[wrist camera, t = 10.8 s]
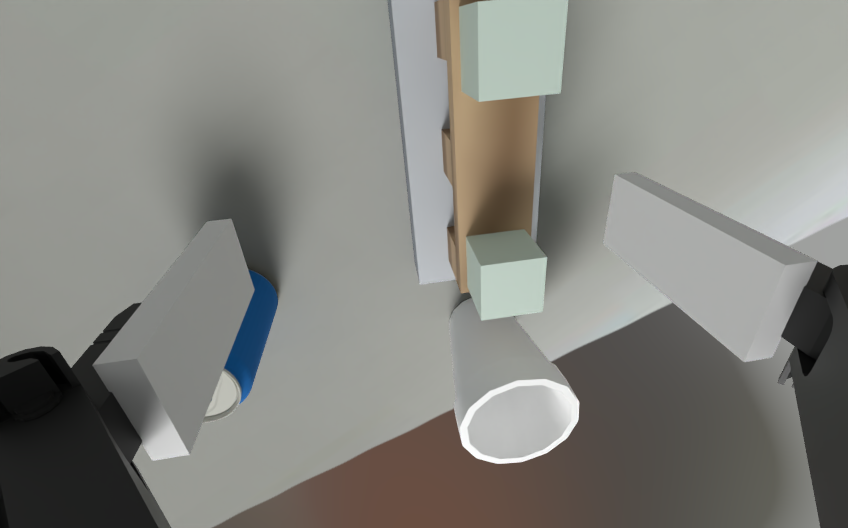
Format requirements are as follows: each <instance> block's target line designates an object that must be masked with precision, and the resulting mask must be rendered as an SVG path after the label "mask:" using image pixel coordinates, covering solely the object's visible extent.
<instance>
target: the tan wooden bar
mask: <svg viewBox="0 0 848 528" xmlns="http://www.w3.org/2000/svg"><path fill="white" fill-rule="evenodd" d="M478 1H490V0H438V1H436V2H434V8H435V26H436V43H437V58H440V59H443V60H446V61H447V76H448V98H449V120H450V129H441V133H442V151H443V169H444V173H445V175H446V176H447V178H448V180H449V182H450V183H451V185H452V187H453V207H454V226H452V227H447V240H448V258H449V262H450V265H451V268H452V271H453V273H454V276H455V279H456V281H457V284H458V287H459V289H460V292H461V293H467V292H469V289H468V287H467V256H466V236H474V235H482V234H489V233H497V232H505V231H513V230H520V229H525V231H526V232H527V233H528V234H529V235H530V237H531V231H532V214H533V197H534V180H535V162H536V145H537V128H538V111H539V96H530V97H520V98H511V99H501V100H492V101H482V102H478V101H477V100H475V99H473V98H472V97H470V96H468V95H467V94H465V93H463V92H462V91H461V61H460V29H459V7H460V6H464V5H467V4H471V3H474V2H478Z"/></svg>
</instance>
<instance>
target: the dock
mask: <svg viewBox="0 0 848 528" xmlns="http://www.w3.org/2000/svg"><path fill="white" fill-rule="evenodd" d="M436 1H438V0H388V9H389V19H390V28H391V38H392V47H393V57H394V67H395V76H396V86H397V96H398V105H399V115H400V124H401V134H402V144H403V153H404V163H405V173H406V182H407V192H408V201H409V211H410V221H411V230H412V240H413V250H414V259H415V265H416V270H417V274H418V279H419V283H420V284H428V283H435V282H442V281H450V280H456V279H455V276H454V273H453V271H452V268H451V265H450V262H449V258H448V240H447V227H452V226H454V207H453V187H452V185H451V183H450V182H449V180H448V178H447V176H446V175H445V173H444V169H443V151H442V133H441V129H450V120H449V98H448V76H447V61H446V60H443V59H440V58H437V43H436V26H435V8H434V2H436ZM545 101H546V95H539V111H538V128H537V145H536V162H535V180H534V197H533V214H532V231H531V238H532V239H533V240H534V242H535V243H536V238H537V223H538V208H539V193H540V177H541V162H542V147H543V131H544V116H545Z"/></svg>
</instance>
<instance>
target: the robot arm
mask: <svg viewBox="0 0 848 528" xmlns="http://www.w3.org/2000/svg"><path fill="white" fill-rule="evenodd" d="M603 244H604V245H605V246H606V247H607V248H609V249H610V250H611V251H612V252H613V253H615V254H616V255H617V256H618V257H619V258H621V259H622V260H623V261H624V262H625V263H626V264H628V265H629V266H630V267H631V268H632V269H634V270H635V271H636V272H637V273H638V274H640V275H641V276H642V277H643V278H644V279H646V280H647V281H648V282H649V283H650V284H652V285H653V286H654V287H655V288H656V289H657V290H659V291H660V292H661V293H662V294H663V295H665V296H666V297H667V298H668V299H669V300H671V301H672V302H673V303H674V304H675V305H677V306H678V307H679V308H680V309H681V310H683V311H684V312H685V313H686V314H687V315H689V316H690V317H691V318H692V319H693V320H694V321H696V322H697V323H698V324H699V325H700V326H702V327H703V328H704V329H705V330H707V331H708V332H709V333H710V334H711V335H712V336H714V337H715V338H716V339H717V340H718V341H719V342H721V343H722V344H723V345H724V346H725V347H727V348H728V349H729V350H730V351H732V352H733V353H734V354H735V355H736V356H737V357H739V358H740V359H741V360H742V361H743V362H748V361H754V360H760V359H766V358H772V357H773V355H774V353H775V350H776V349H777V346H778V344H779V342H780V340H781V338H782V337H783V338H784V339H785V340H787V341H788V342H790V343H791V344H792V345H794V346H795V347H794V349H793V351H792V353H791V355H790V357H789V359H788V361H787V363H786V365H785V367H784V369H783V371H782V373H781V375H780V377H779V380H778V383H779V384H782V385H783V384H784V383H785V381H786V379H788V378H791V377H792V378H793V385H792V387H793V388H795V394H796V399H797V404H798V410H799V415H800V421H801V426H802V431H803V437H804V442H805V447H806V453H807V458H808V463H809V468H810V474H811V479H812V485H813V490H814V495H815V501H816V506H817V511H818V517H819V522H820V527H821V528H848V265H840V266H837V267H835V268H833V269H832V268H830V267H828V266H826V265H823V264H822V263H819V262H818V261H817V260H815V259H813V258H811V257H809V256H807V255H805V254H803V253H801V252H799V251H797V250H794V249H792V248H791V247H788V246H786V245H784V244H782V243H780V242H778V241H776V240H774V239H772V238H770V237H768V236H766V235H764V234H762V233H760V232H758V231H756V230H753V229H751V228H749V227H747V226H745V225H743V224H741V223H739V222H737V221H735V220H733V219H731V218H729V217H727V216H725V215H723V214H721V213H719V212H716V211H714V210H712V209H710V208H708V207H706V206H704V205H702V204H700V203H698V202H696V201H694V200H692V199H690V198H688V197H686V196H684V195H681V194H679V193H677V192H675V191H673V190H671V189H669V188H667V187H665V186H663V185H661V184H659V183H657V182H655V181H653V180H651V179H649V178H647V177H644V176H642V175H640V174H638V173H636V172H630V173H621V174H615V175H614V181H613V187H612V193H611V199H610V205H609V211H608V217H607V223H606V229H605V235H604V241H603ZM254 290H255V289H254V286H253V283H252V280H251V277H250V274H249V271H248V268H247V265H246V261H245V258H244V255H243V252H242V249H241V246H240V243H239V240H238V237H237V234H236V231H235V228H234V225H233V221H232V219H223V220H215V221H207V222H206V223H205V225H204V226H203V227H202V228H201V230H200V231H199V232H198V233H197V235H196V236H195V237H194V238H193V240H192V241H191V242H190V243H189V245H188V246H187V247H186V248H185V250H184V251H183V252H182V253H181V255H180V256H179V257H178V258H177V260H176V261H175V262H174V263H173V265H172V266H171V267H170V268H169V270H168V271H167V272H166V273H165V275H164V276H163V277H162V278H161V280H160V281H159V282H158V283H157V285H156V286H155V287H154V288H153V290H152V291H151V292H150V293H149V295H148V296H147V297H146V298H145V300H144V301H143V302H142V303H136V304H133V305H131V306H130V307H128V308H127V309H125V310H124V311H123V312H121V313H120V314H118V315H117V316H115V317H114V319H113V320H112V321H111V322H110V323H109V324H108V326H107V327H106V328H105V329H104V330H103V333H101V334H100V335H99V336H98V337H97V338H96V340H95V341H94V342H93V343H94V345H91V346H90V347H89V348H88V349H87V350H86V351H85V353H84V354H83V355H82V356H81V357H80V358H79V360H78V361H77V362H76V363H75V364H74V365H73V367H72V368H70V367H69V365H68V364H67V362H66V361H65V359H64V358H63V356H62V355H61V353H60V352H59V351H58V350H57V349H55V348H54V347H36V348H31V349H25V350H22V351H19V352H17V353H14V354H11V355H8V356H6V357H4V358H2V359H0V528H171V527H170V525H169V523H168V521H167V519H166V518H165V516H164V514H163V512H162V511H161V509H160V507H159V505H158V504H157V502H156V500H155V498H154V496H153V495H152V493H151V491H150V489H149V488H148V486H147V484H146V482H145V481H144V479H143V477H142V475H141V473H140V472H139V470H138V468H137V467H136V465H135V464H134V462H133V461H132V460H133V458H134V456H135V454H136V452H137V450H138V448H139V446H140V445H141V443H142V445H143V446H144V448H145V450H146V451H147V453H148V454H149V456H150V458H151V459H152V461H154V460H160V459H166V458H172V457H178V456H184V455H190V453H191V450H192V447H193V445H194V442H195V440H196V437H197V435H198V432H199V430H200V427H201V425H202V422H203V420H204V417H205V415H206V412H207V409H208V407H209V404H210V402H211V399H212V397H213V394H214V392H215V389H216V387H217V384H218V382H219V379H220V377H221V374H222V371H223V369H224V366H225V364H226V361H227V359H228V356H229V354H230V351H231V349H232V346H233V344H234V341H235V339H236V336H237V333H238V331H239V328H240V326H241V323H242V321H243V318H244V316H245V313H246V311H247V308H248V306H249V303H250V301H251V298H252V295H253V293H254Z"/></svg>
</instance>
